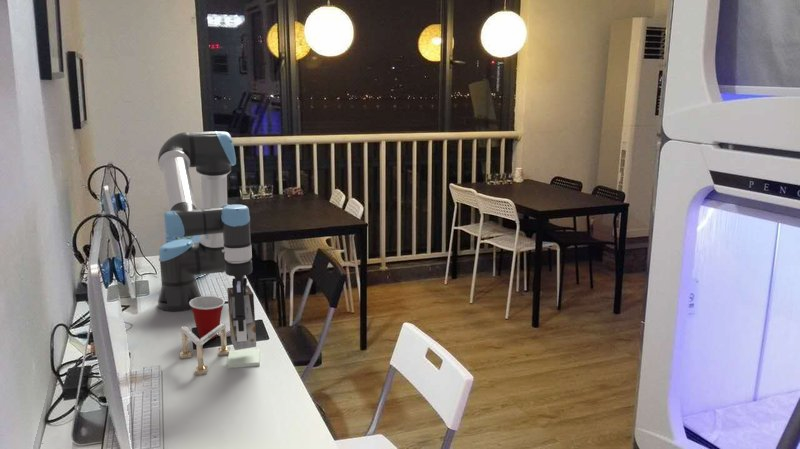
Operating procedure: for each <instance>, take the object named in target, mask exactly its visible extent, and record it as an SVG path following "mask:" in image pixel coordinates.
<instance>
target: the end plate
mask: <svg viewBox="0 0 800 449" xmlns="http://www.w3.org/2000/svg"><path fill="white" fill-rule="evenodd" d="M227 356H228V357H227V364H226V366H227V369H234V368H235V369H237V368H244V367H245V368H246V367H256V366H259V367H260V365H261V364H260V362H261V348H259V347H258V348H256V347H255V348H246V349H240V350H235V349H234V350H231V349H230V351H229V355H227Z"/></svg>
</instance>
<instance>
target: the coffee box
mask: <svg viewBox="0 0 800 449" xmlns="http://www.w3.org/2000/svg"><path fill="white" fill-rule="evenodd" d="M254 297H255V296H254V292H253V291H252V289H251V288H250V286H249V285H247V288H246V294H244V304H245V317H246V331H247V341H240V342H237V332H236V321H233V318H235V295H233V286H232V287H227V302H228V303H227V304H228V318H229V319H228V320H229V331H230V332H229V333H230V341H231V344H232V347H233V348H234V350H244V349H253V348H256V347H257V334H256V332H257V330H256V314H255V298H254ZM241 316H242V315H241Z"/></svg>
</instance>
